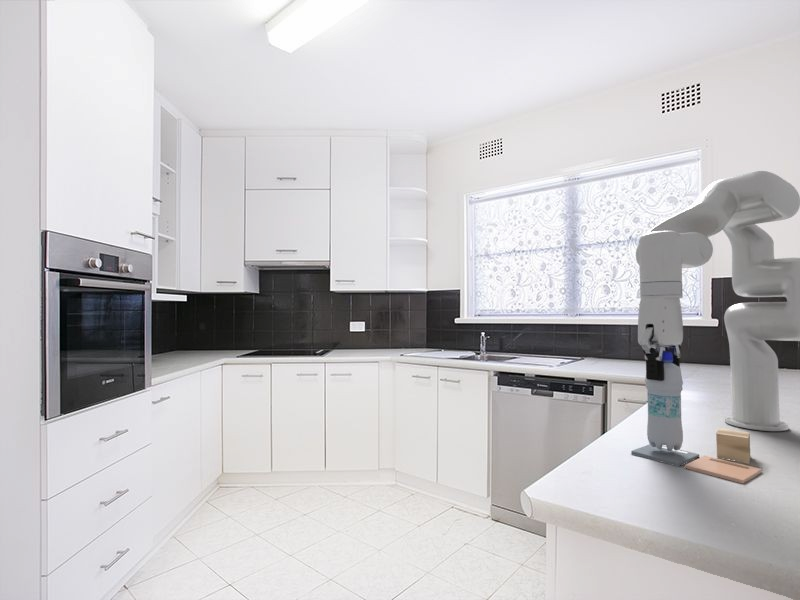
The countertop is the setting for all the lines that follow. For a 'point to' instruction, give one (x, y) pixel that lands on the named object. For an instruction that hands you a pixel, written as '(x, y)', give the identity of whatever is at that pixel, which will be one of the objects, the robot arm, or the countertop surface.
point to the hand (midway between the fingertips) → (663, 377)
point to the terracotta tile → (724, 469)
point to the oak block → (733, 445)
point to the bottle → (665, 407)
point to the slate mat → (665, 454)
